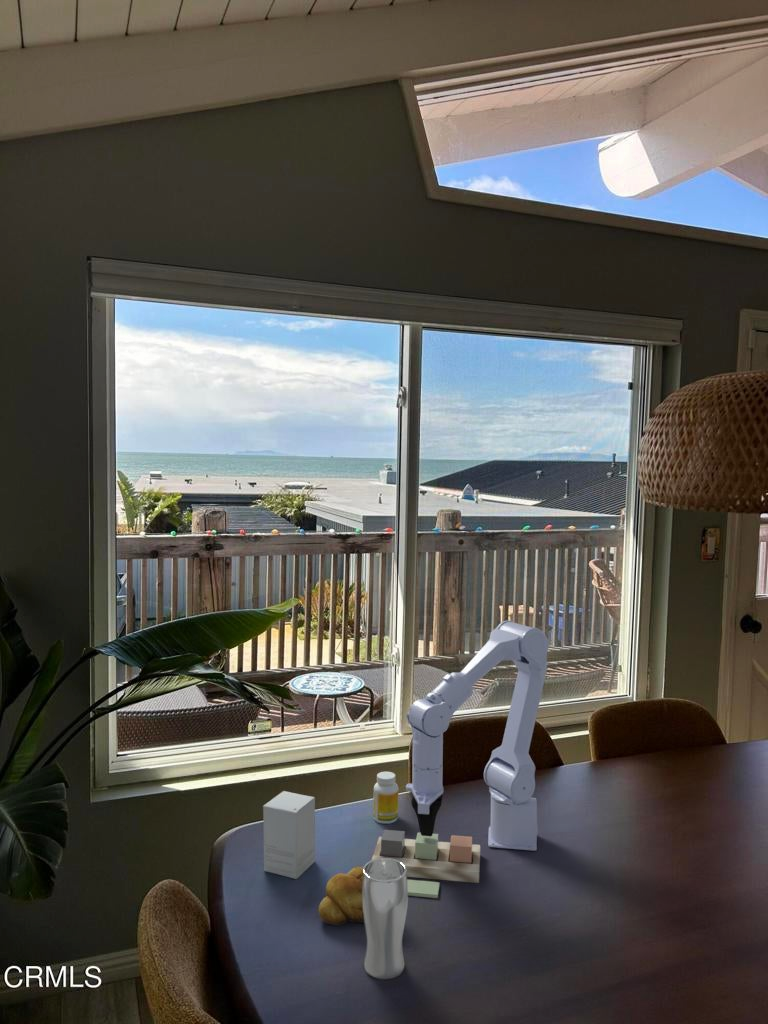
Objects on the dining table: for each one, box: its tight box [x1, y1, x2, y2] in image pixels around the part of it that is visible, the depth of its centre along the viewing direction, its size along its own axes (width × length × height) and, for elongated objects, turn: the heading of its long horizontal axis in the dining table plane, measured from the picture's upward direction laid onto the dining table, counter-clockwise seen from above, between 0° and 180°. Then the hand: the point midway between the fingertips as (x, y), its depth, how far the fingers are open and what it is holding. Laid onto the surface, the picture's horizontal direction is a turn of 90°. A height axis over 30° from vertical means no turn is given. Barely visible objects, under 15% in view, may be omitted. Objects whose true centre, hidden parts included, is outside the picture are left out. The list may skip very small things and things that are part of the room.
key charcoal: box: [381, 829, 406, 858], centre depth 140 cm, size 4×4×3 cm
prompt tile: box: [407, 878, 440, 899], centre depth 130 cm, size 6×4×1 cm, turn 81°
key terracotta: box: [449, 834, 473, 864], centre depth 138 cm, size 4×4×3 cm
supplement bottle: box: [372, 771, 399, 825], centre depth 157 cm, size 5×5×10 cm
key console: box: [371, 836, 481, 884], centre depth 139 cm, size 20×10×2 cm, turn 81°
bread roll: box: [318, 865, 364, 926], centre depth 123 cm, size 13×10×8 cm
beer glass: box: [362, 858, 409, 980], centre depth 110 cm, size 7×7×15 cm
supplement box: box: [262, 790, 316, 880], centre depth 138 cm, size 7×7×13 cm
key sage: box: [415, 831, 439, 861], centre depth 139 cm, size 4×4×3 cm
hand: (426, 834), depth 139 cm, fingers closed
